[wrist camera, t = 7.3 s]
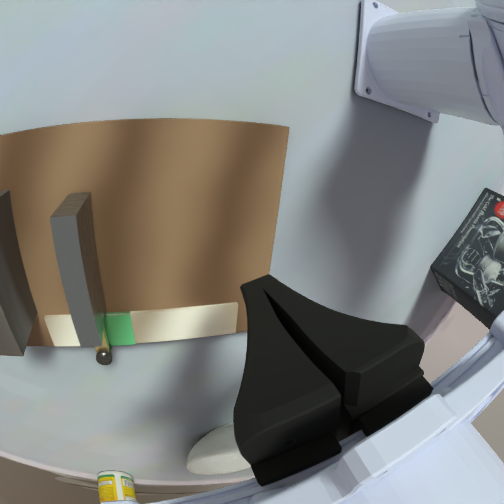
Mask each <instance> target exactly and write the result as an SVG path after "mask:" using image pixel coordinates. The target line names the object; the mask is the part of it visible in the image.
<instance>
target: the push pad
mask: <svg viewBox="0 0 504 504" xmlns="http://www.w3.org/2000/svg"><path fill="white" fill-rule="evenodd" d="M50 223H51V229H52V236H53V242H54V247H55V252H56V258H57V262H58V267H59V272H60V276H61V280H62V285H63V289H64V293H65V297H66V300H67V304H68V308H69V311H70V315H71V318H72V321H73V324H74V328H75V331H76V334H77V337H78V340H79V343H80V346H81V347H95V348H96V351H97V355H96V360H97V362H98V363H100V364H102V365H108V364H110V363H111V362H112V345H111V344H110V343H109V342H108V339H107V335H106V332H105V328H104V318H105V309H106V305H105V300H104V294H103V289H102V284H101V278H100V272H99V265H98V259H97V252H96V244H95V236H94V227H93V216H92V204H91V192H82V193H70V194H68V196H67V197H66V198H65V199H64V200H63V202H62V203H61V204H60V205H59V207H58V208H57V209H56V210H55V212H54V213H53V214H52V215H51V217H50Z"/></svg>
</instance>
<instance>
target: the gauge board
mask: <svg viewBox="0 0 504 504" xmlns="http://www.w3.org/2000/svg"><path fill="white" fill-rule="evenodd" d="M288 135H289V127H286V126H280V125H273V124H263V123H253V122H242V121H228V120H211V119H176V118H157V119H123V120H106V121H93V122H82V123H73V124H64V125H56V126H49V127H42V128H36V129H30V130H24V131H19V132H14V133H9V134H4V135H0V355H6V356H23V355H24V352H25V348H26V346H80V343H79V340H78V337H77V334H76V331H75V328H74V324H73V321H72V318H71V315H70V311H69V308H68V304H67V300H66V297H65V293H64V289H63V285H62V280H61V276H60V272H59V267H58V262H57V258H56V252H55V247H54V242H53V236H52V229H51V223H50V217H51V215H52V214H53V213H54V212H55V210H56V209H57V208H58V207H59V205H60V204H61V203H62V202H63V200H64V199H65V198H66V197H67V196H68V194H70V193H82V192H91V204H92V216H93V227H94V236H95V244H96V252H97V259H98V265H99V272H100V278H101V284H102V289H103V294H104V300H105V305H106V309H105V318H104V328H105V332H106V335H107V339H108V342H109V343H110V344H111V345H112V346H117V345H133V344H136V343H147V342H159V341H170V340H181V339H190V338H199V337H208V336H216V335H224V334H232V333H237V332H244V331H247V313H246V305H245V302H244V299H243V296H242V293H241V290H240V286H241V285H242V284H244V283H247V282H249V281H252V280H254V279H257V278H260V277H262V276H265V275H267V274H269V271H270V264H271V257H272V251H273V244H274V237H275V230H276V223H277V216H278V209H279V202H280V195H281V187H282V180H283V173H284V165H285V158H286V150H287V142H288Z"/></svg>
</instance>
